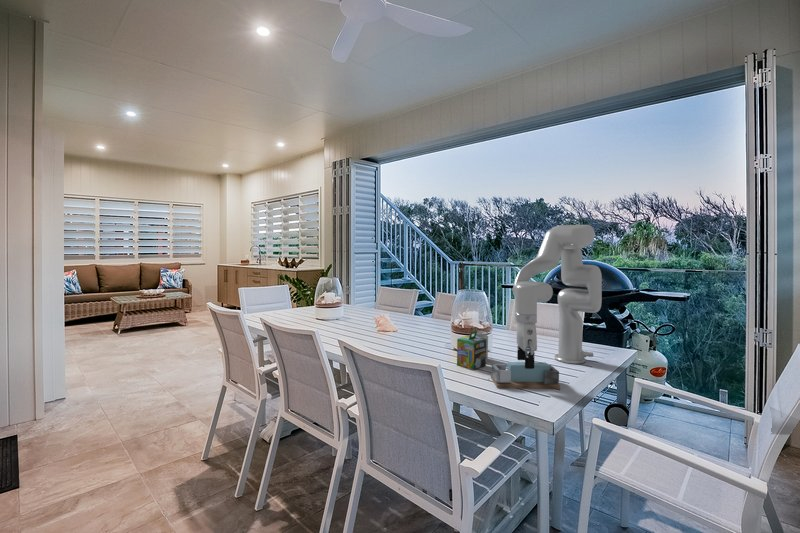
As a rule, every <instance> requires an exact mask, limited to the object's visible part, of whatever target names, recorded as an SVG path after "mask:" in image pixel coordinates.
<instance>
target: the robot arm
mask: <svg viewBox="0 0 800 533" xmlns="http://www.w3.org/2000/svg"><path fill="white" fill-rule="evenodd" d="M595 232H596V231H595V229H594V228H593V226H592V225H589V224H564V225H563V224H562V225H556V226H554V227H552V228H550V229H548V230H547V231H546V232H545V235H544V236H543V239H542V242H541V245H540V247H539V249H538V252H537V255H536V257H535V258H533V259H532V260H530V261H528V263H527V264H525V265H524V266H523V267H522V268H521V269H520V270H519V271H518V273H517V275H516V278H515V280H514V284H513V287H512V293H513V296H514V299H515V302H514V304H515V305H514V308H515V309H514V313H515V314H514V320H515V321H514V322H515V323H516V345H517V346H516V347H517V350H516V351H517V355H516V356H517V358H516V359H517V360H518V361H524V362H525V368H526V369H534V362H535V356H536V355H535V354H536V353H535V352H536V351H538V340H537V338H538V337H537V334H538V333H537V327H536V326H537V325H536V324H537V323H538V319H537V318H538V312H537V311H538V303H546V302H548V301H550V300H551V299H552V297H553V294H554V291H553V290H554V289H553V287H552V286H551V285H550V284H549V283H548V282H542V281H535V280H534V281H530V280H531V279H533V277H535V276H536V275H539V274H542V273H545V272H548V271H551V270H554V269H555V268H557V267H558V265H559V263H560V270H561V271H560V274H561V276H560V277H561V279H560V280H561V282H562V284H564V285H565V286H569V287H571V286H572V287H579V289H578V288H564V289H561V290H560V291H559V292H558V294H557V305H558V313H559V317H558V318H559V319H558V320H559V323H558V353H557V354H555V355H554V359H555V360H556V361H558V362H561V363H565V364H574V365H575V364H577V365H580V364H584V363H586V358H587V357H589V358H592V357H594V353H593V351H591V352H590V351H586V350H585V351H584V350H583V332H584V331H583V330H584V328H583V327H584V324H583V323H584V322H583V318H582V316H581V315H580V313H579V312H582V313H583V312H584V313H590V314H591V313H593V314H595V313H598V312H599V311H600V310H601V308H602V300H603V297H602V295H603V294H602V292H603V291H602V287H603V286H602V283H603V278H602V276H603V275H602V271H601V269H600V267H599V266H597V265H594V264H584V263H583V251H582V250H581V249H584V248H586V247H588V246H590V245H592V243H593V242H594V239H595V236H596V234H595ZM581 287H582V288H587V289H581Z"/></svg>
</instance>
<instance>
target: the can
mask: <svg viewBox="0 0 800 533" xmlns="http://www.w3.org/2000/svg"><path fill="white" fill-rule="evenodd" d="M472 336H474V333H473V334H472ZM476 337H480V338H484V339H487V343H486V360H487V359H488V358H489V336H488V334H487V332H486V331H483V330H477V334H476Z"/></svg>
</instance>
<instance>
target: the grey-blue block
mask: <svg viewBox="0 0 800 533" xmlns="http://www.w3.org/2000/svg"><path fill="white" fill-rule="evenodd" d="M549 365H550V364H549V363H548V362H545V361H544V362H542V361H541V362H540V361H538V362H535V361H534V369H526V368H525V361H507V370H510V371H511V381H513V382H543V381H544V371H550V366H549Z"/></svg>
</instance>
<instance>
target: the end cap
mask: <svg viewBox="0 0 800 533" xmlns="http://www.w3.org/2000/svg"><path fill="white" fill-rule="evenodd" d="M491 375H492V376H493V378H494V379H495V381H496V383H511V371H510V370H508V369H507V364H505V363H501V364H500V363H492V364H491Z"/></svg>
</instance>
